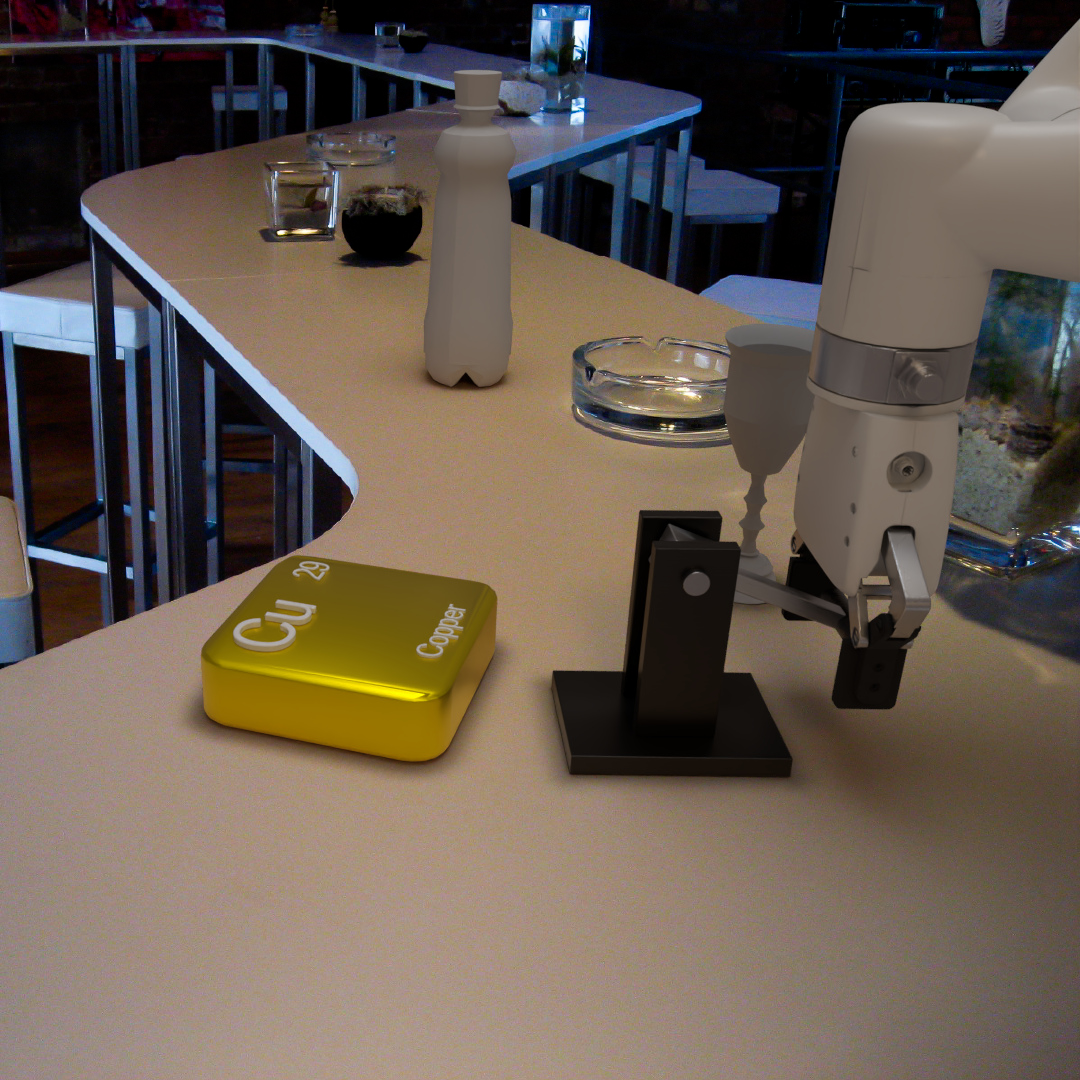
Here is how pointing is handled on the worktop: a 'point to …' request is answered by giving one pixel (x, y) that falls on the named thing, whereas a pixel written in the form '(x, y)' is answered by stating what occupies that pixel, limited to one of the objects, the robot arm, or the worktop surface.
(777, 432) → the chalice
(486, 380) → the bottle
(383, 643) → the element tile
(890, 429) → the robot arm
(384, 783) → the worktop surface
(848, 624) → the lever
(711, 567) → the bracket
